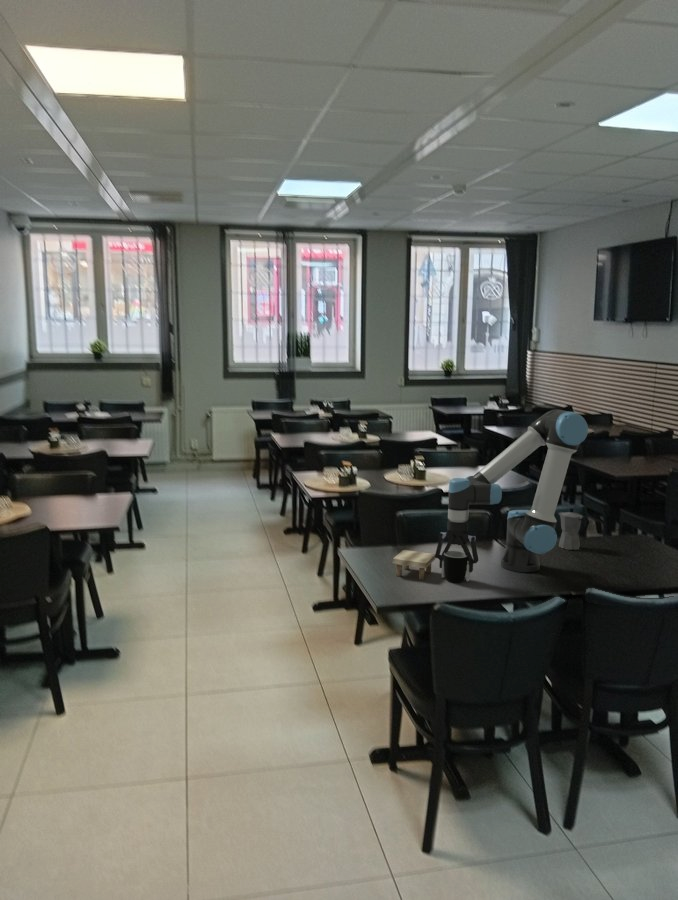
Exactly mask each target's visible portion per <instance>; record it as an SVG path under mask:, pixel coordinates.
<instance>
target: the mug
mask: <svg viewBox="0 0 678 900" xmlns="http://www.w3.org/2000/svg"><path fill="white" fill-rule="evenodd" d="M467 564H468V556H466V555H465V553H464V551H459V550H448V551H447V553H446V554H445V553H444V573H445V577H444V578H445V580H446V581H447V582H449V583H452V584H459V583H463V582H464V581H465V580H466V574H467Z"/></svg>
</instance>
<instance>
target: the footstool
mask: <svg viewBox="0 0 678 900" xmlns="http://www.w3.org/2000/svg"><path fill="white" fill-rule="evenodd" d="M435 554H436V553H430V552H429V553H428V552H423V551H422V552H421V551H416V550H415V551H414V550H407V549H403V550H401V551H400V553H398V554H397V555H395V556H394V557H393V558H392V565H393V564H394V565H396V571H395V572H396V577H402V574H403V573H402V572H403V570H404V569H405V571H409V570H410V567H412V568H419V569H418V580H420V581H425V575H426V574H425V573H427V574H431V573H432V563H433V562H434V561H435V560H436V558H435ZM402 568H403V569H402ZM408 569H409V570H408Z"/></svg>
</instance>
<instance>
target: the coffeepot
mask: <svg viewBox="0 0 678 900" xmlns="http://www.w3.org/2000/svg"><path fill="white" fill-rule="evenodd" d="M557 514H558V515H559V517H560V527H561V528H560V529H561V530H562V531H561V534H560V538H559V542H558V546H559V547H561V548H565V549H579V547H580V548H581V544H580V542H581V541H580V535H582V536H583V535H585V534H586V533H587V532H586V531H587V529H588V527H589V525H590V521H589V518H588V516H583V515H582V514H580V513H578V512H574V508H572V507H571V508H569V511H567V512H566V511H565V512H563V511H562V512H558V513H557ZM582 521H584V524H583V525H584V526H583V528H582V532H581V531H580V529H581V523H582ZM579 531H580V532H579ZM559 547H558V548H559ZM579 550H580V549H579Z"/></svg>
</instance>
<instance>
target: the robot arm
mask: <svg viewBox="0 0 678 900" xmlns="http://www.w3.org/2000/svg"><path fill="white" fill-rule="evenodd" d="M588 433H589V426H588V423H587V421H586V419H585V418H584V417H583V416H582V415H580V414H579V413H577V412H574V411H570V410H569V411H567V410H563V409H559V408H558V409H551V410H550V411H549V410H548V411H547V412H545V413H544V414H542V415H541V416H539V418H537V419H536V420H534V421H533V422H532V423H531V424H530V425H529V426H527V431H526V432H524V433H523V434H522V435H521V436H519V437H518V438H517V439H516V440H515V441H513V442H512V443H511V444H509V446H508V447H507V448H505V449H504V450H503V451H502V452H501V453H499V454H498V455H497V456H495V457H494V458H493V459H492V460H491V461H490V462H488V463H487V464H486V465H485V466H484V467H482V468H481V469H480V470H478V471H477V472H476V473H475V474H474V475H468V476H466V477H465V478H464V477H463V478H462V477H456V478H455V477H454V478H451V479H450V480H449V485H448V505H447V507H448V509H447V519H448V520H447V526H446V527H447V530H446V532H443V531H441V532H440V533H438V543H437V545H436V551H435V553H434V554H435V559H438V560H439V563H438V565H439V566H438V567H439V569H441V578H442V579H443V578H445V573H444V553H445V554H446V553H447V551H450V548H451V547H452V545H457V546H460V547H461V549H462V550H463V552H464V553H465V555H466V556H468V564H467V571H466V575H465V581H466V582H469V581H470V580H471V573H473V571H474V564H477V563H478V562H479V555H478V550H477V545H476V544H477V542H476V541H477V536H476V535H469V521H468V520H469V511H470V510H469V509H470V508H469V507H470V505H496V504H500V503H501V501H502V496H503V493H502V487H501V485H500V484H497V482H498V481H499V480H500V479H502V478H503V477H505V475H507V474H509V472H510V471H511V470H512V469H514V468H515V467H516V466H517V465H519V464H520V463H522V461H523V460H525V459H527V457H528V456H530V455H532V453H533V452H534V451H536V450H538V448H539V447H541V446H544V447H545V446H547V453H546V456H545V460H544V463H543V466H542V470H541V472H540V473H541V474H540V477H539V481H538V484H537V487H536V492H535V494H534V498H533V501H532V506H531V509H513V510H509V512H508V513H507V518H506V520H507V523H506V543H505V544H506V545H505V549H504V551H503V554H502V555H501V558H500V566H501V567H502V568H503V569H505V570H508V571H511V572H517V573H533V572H536V571H540V568H541V567H540V565H541V563H540V559H539V555H543V554H547V553H548V552H549V551H551V550H552V549H553V548H554V547H555V546H556V544H557V541H558V535H557V531H556V530H555V529H556V526H557V522H558V520H557V519H556V517H555V513H556V511H557V507H558V502H559V500H560V496H561V492H562V489H563V486H564V481H565V479H566V475H567V473H568V471H567V470H568V469H569V468H568V467H569V464H570V461H571V457H572V456H573V454H575V453H576V452H577V451H578V448H579V446H580V444H581V443H583V442H584V441H585V440H586V439H587V436H588ZM445 538H447V540H448V542H447V544H446V546H445V547H444V549H443V551H442V548H443V543H444V540H445ZM467 540H468V541H469V542H470V548H471V552H470V549H469V547H468V544H467ZM441 552H442V553H441ZM471 553H472V554H471ZM538 554H539V555H538Z"/></svg>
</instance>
